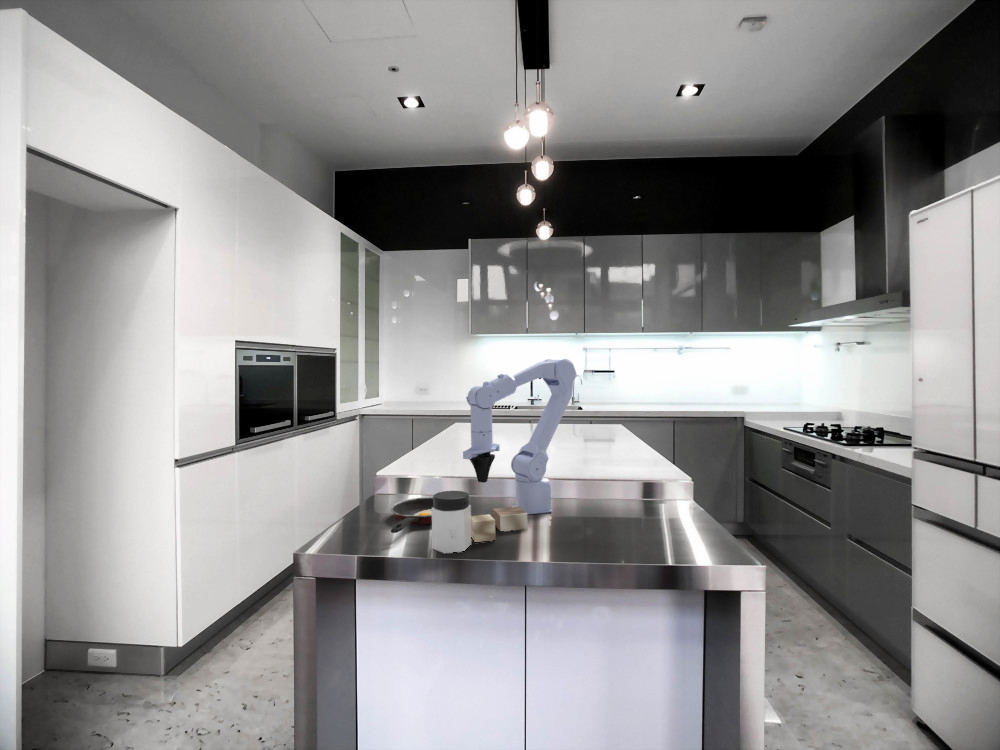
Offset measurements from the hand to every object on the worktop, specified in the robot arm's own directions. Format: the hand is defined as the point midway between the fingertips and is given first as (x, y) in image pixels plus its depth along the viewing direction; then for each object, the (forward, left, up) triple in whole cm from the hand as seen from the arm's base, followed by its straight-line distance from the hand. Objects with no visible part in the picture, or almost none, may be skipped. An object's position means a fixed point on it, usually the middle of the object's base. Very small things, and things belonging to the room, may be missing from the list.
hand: (482, 481), depth 143 cm
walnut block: (-5, +12, -8) cm, 15 cm away
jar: (+12, +19, -10) cm, 25 cm away
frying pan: (+18, -1, -10) cm, 20 cm away
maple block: (+4, +16, -10) cm, 19 cm away
